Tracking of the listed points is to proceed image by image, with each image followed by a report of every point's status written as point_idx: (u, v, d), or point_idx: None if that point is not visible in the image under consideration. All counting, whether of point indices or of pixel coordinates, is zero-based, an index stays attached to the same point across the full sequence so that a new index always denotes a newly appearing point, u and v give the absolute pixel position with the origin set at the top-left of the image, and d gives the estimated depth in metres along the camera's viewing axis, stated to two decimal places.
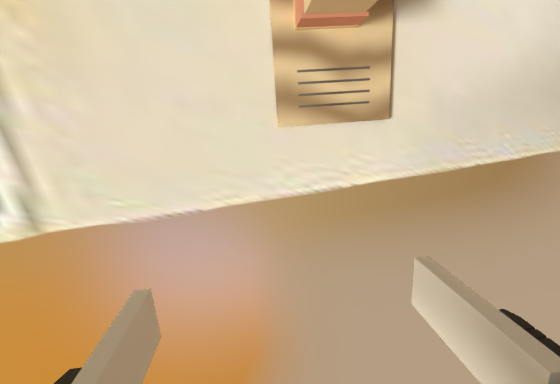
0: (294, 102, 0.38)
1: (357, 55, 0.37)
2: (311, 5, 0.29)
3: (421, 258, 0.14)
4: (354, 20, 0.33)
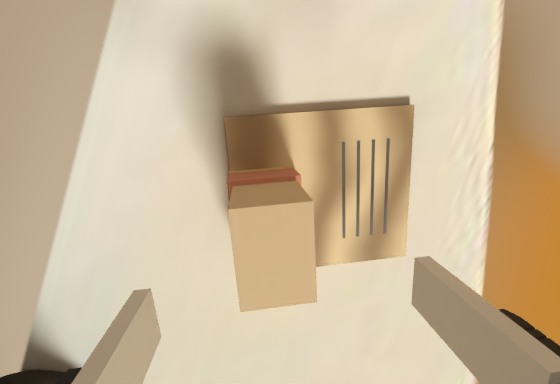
0: (379, 239, 0.30)
1: (327, 161, 0.27)
2: None
3: (421, 258, 0.14)
4: None
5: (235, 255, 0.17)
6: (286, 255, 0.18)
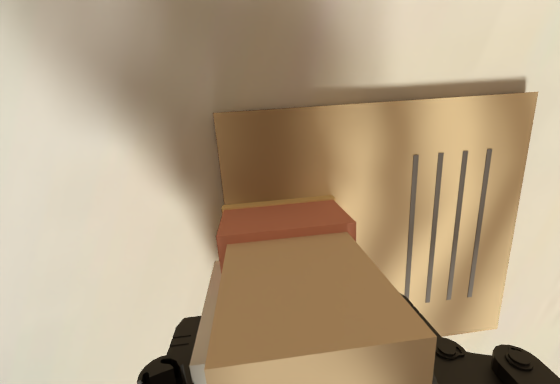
0: (459, 305, 0.19)
1: (388, 188, 0.16)
2: None
3: None
4: None
5: None
6: None
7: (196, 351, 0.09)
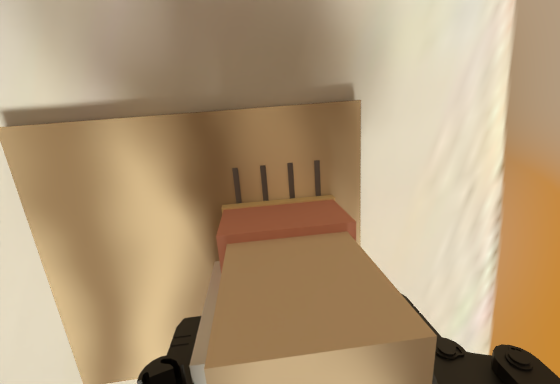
0: None
1: (210, 202, 0.15)
2: None
3: None
4: None
5: None
6: None
7: (196, 351, 0.09)
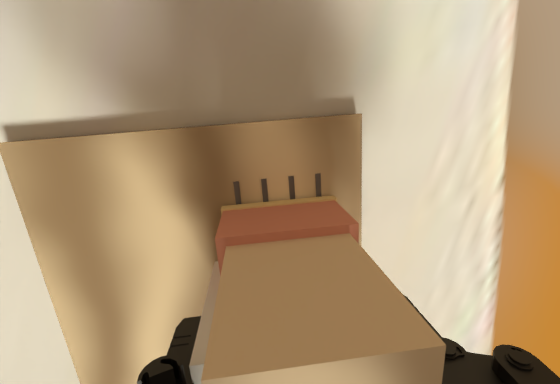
0: None
1: (211, 215, 0.15)
2: None
3: None
4: None
5: None
6: None
7: (196, 351, 0.09)
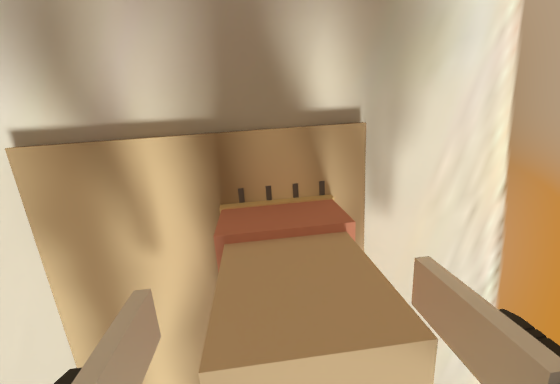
0: None
1: (215, 222, 0.15)
2: None
3: (421, 258, 0.14)
4: None
5: None
6: None
7: None
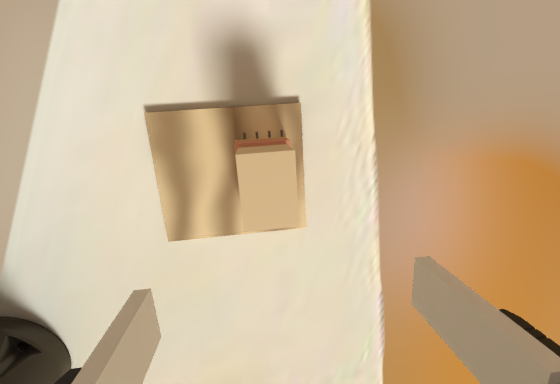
0: None
1: (232, 148, 0.33)
2: None
3: (421, 258, 0.14)
4: None
5: (240, 188, 0.24)
6: (276, 190, 0.25)
7: None
